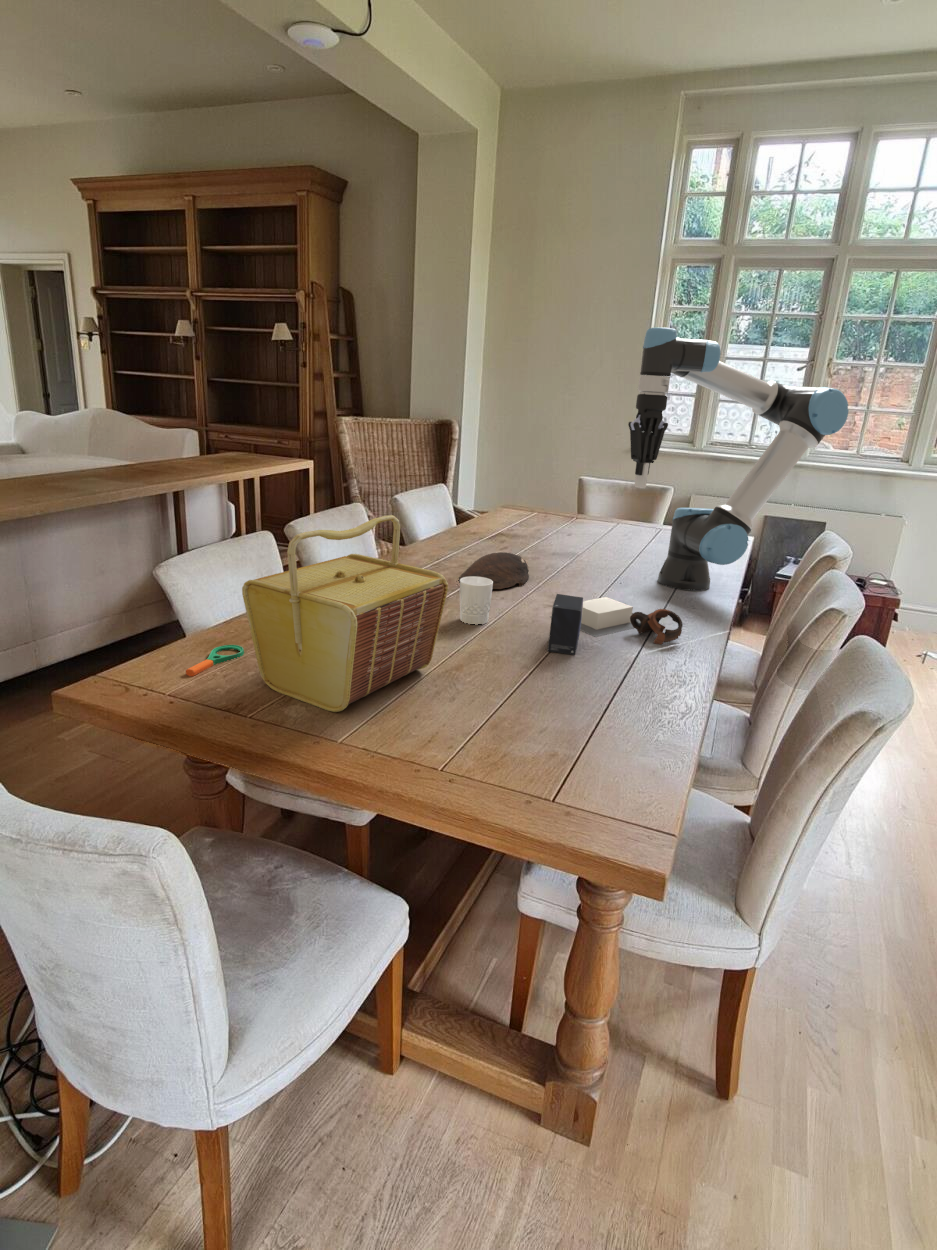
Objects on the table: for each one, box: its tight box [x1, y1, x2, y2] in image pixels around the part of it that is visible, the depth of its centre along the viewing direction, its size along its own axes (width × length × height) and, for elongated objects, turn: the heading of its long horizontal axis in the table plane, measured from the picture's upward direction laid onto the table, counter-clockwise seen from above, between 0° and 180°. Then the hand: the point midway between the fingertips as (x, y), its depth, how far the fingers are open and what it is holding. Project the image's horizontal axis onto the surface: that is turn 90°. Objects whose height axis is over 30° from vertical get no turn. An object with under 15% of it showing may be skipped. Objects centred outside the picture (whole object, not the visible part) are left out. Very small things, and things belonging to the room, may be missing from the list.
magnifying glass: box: [185, 644, 245, 677], centre depth 139 cm, size 15×6×2 cm, turn 163°
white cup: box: [459, 576, 493, 626], centre depth 170 cm, size 8×8×10 cm
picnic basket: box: [241, 514, 449, 713], centre depth 130 cm, size 29×26×30 cm
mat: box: [549, 612, 641, 638], centre depth 176 cm, size 22×16×1 cm
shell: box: [458, 551, 530, 590], centre depth 209 cm, size 34×20×8 cm, turn 162°
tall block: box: [581, 596, 634, 630], centre depth 175 cm, size 4×9×12 cm
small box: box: [546, 593, 584, 656], centre depth 157 cm, size 11×6×10 cm, turn 168°
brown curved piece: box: [630, 608, 683, 645], centre depth 165 cm, size 12×10×8 cm
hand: (640, 487), depth 187 cm, fingers closed
